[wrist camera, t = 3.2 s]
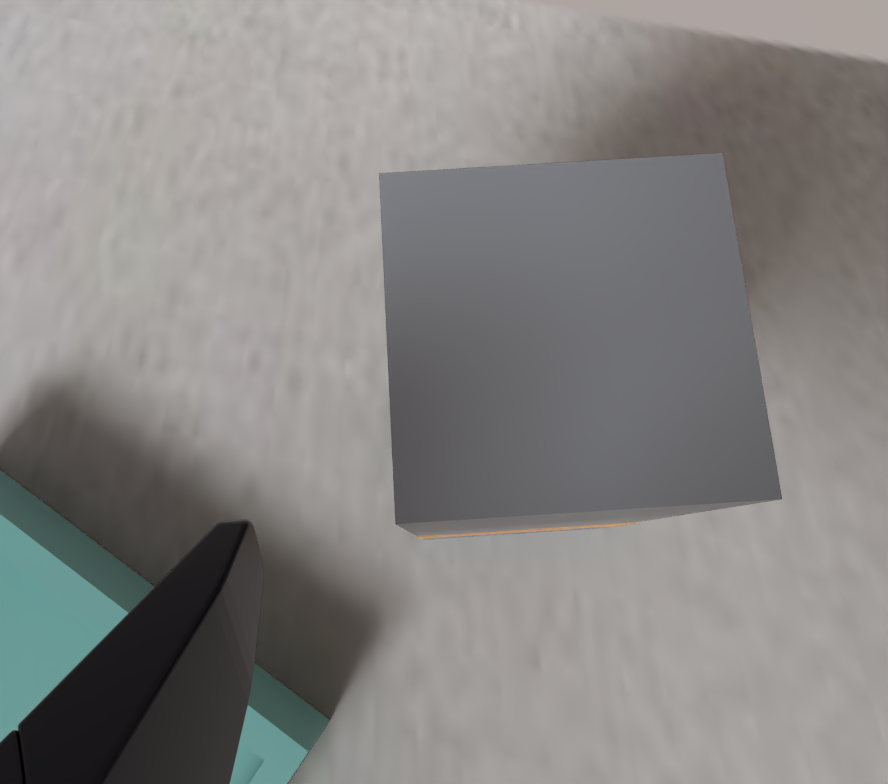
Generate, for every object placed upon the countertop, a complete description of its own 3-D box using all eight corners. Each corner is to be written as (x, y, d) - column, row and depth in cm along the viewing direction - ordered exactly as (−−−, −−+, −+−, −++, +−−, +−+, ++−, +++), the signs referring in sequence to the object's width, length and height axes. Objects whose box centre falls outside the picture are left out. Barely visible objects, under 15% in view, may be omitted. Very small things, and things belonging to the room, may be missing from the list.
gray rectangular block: (600, 528, 20) (783, 500, 9) (422, 540, 20) (394, 525, 9) (580, 358, 21) (723, 151, 10) (413, 368, 21) (377, 171, 10)
